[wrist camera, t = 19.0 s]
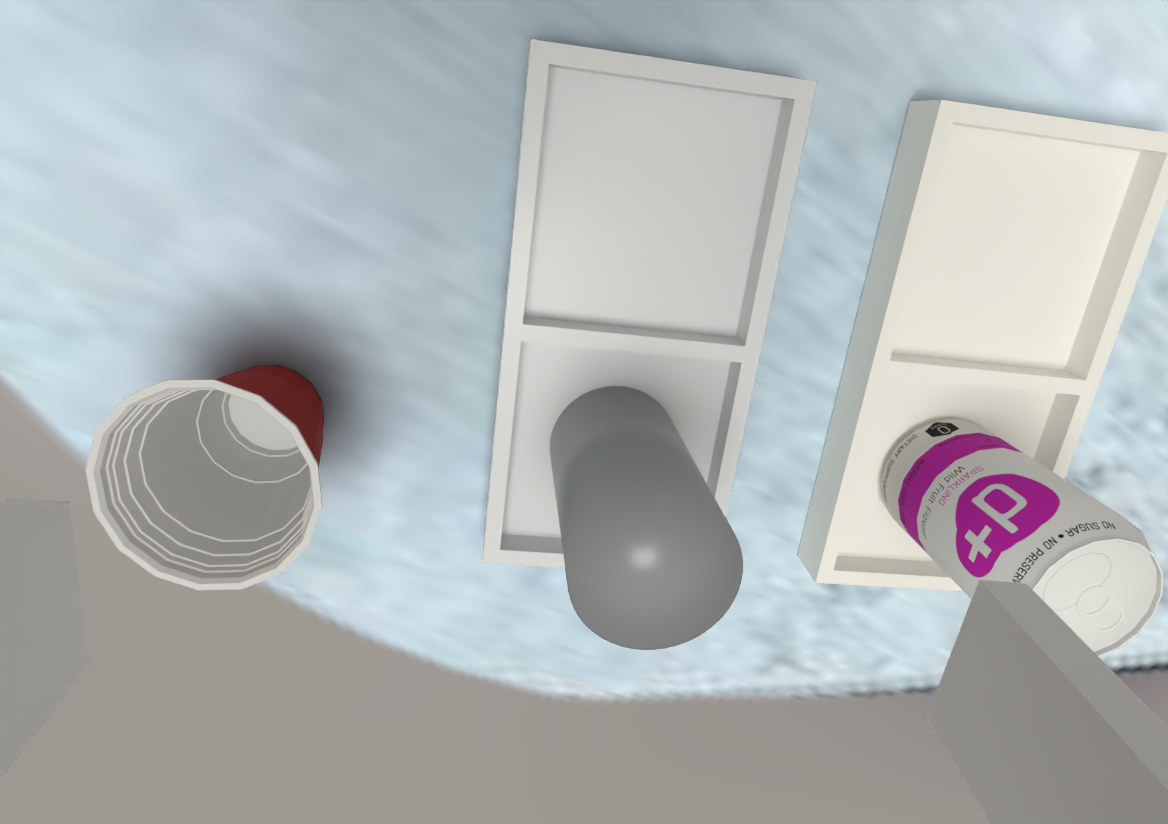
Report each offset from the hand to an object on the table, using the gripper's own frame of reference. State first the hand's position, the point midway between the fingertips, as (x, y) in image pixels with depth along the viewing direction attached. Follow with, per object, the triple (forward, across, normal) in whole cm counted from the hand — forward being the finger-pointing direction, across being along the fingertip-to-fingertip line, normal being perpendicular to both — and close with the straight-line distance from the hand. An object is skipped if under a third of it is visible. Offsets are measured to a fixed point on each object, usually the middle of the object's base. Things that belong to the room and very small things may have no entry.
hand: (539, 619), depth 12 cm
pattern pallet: (+37, +6, -6) cm, 38 cm away
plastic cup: (+36, -15, -13) cm, 41 cm away
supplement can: (+36, +28, -13) cm, 47 cm away
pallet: (+37, +28, -6) cm, 47 cm away
